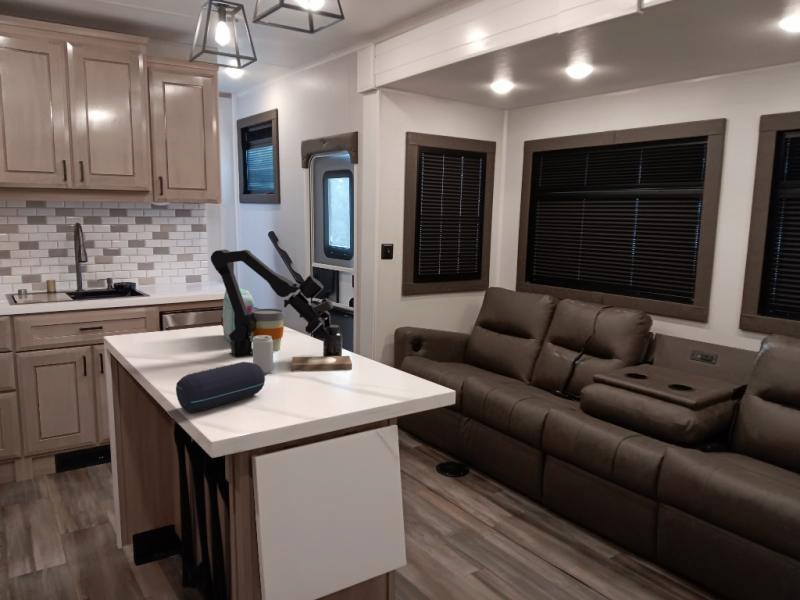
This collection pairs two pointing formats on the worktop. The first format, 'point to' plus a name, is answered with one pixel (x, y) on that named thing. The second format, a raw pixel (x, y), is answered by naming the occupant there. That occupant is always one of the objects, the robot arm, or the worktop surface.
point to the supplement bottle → (333, 342)
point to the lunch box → (228, 313)
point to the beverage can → (263, 352)
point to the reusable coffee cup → (270, 325)
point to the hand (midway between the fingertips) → (334, 338)
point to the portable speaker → (219, 386)
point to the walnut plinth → (322, 363)
